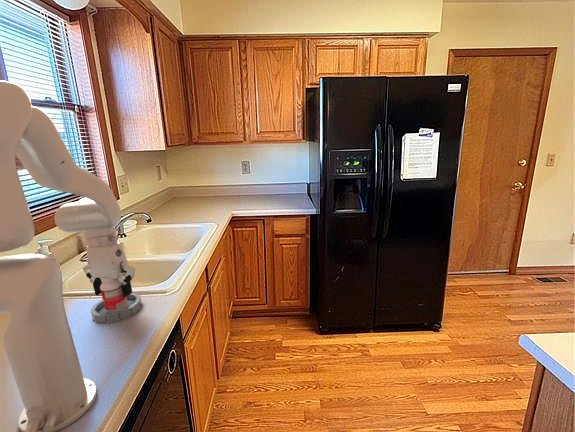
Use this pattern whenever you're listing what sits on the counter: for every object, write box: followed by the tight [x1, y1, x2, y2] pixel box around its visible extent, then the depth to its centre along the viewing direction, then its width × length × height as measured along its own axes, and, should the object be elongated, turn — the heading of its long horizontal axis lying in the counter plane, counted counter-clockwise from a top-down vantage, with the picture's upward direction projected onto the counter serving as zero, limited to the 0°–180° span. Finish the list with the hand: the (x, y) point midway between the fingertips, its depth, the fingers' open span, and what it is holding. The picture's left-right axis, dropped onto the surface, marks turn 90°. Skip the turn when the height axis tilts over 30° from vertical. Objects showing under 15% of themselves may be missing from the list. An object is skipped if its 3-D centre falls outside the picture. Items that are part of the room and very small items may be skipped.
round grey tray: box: [90, 292, 142, 324], centre depth 97 cm, size 13×13×2 cm
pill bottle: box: [100, 278, 128, 313], centre depth 95 cm, size 6×6×11 cm
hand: (114, 293), depth 96 cm, fingers open, 9 cm apart
